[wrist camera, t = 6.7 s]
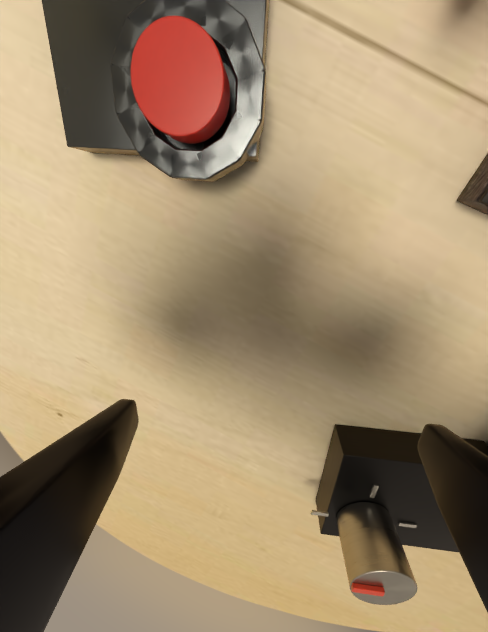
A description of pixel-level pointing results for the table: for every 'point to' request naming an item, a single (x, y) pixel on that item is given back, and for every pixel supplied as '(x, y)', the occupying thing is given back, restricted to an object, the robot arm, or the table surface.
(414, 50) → the table surface
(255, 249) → the table surface
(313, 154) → the table surface
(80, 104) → the control block
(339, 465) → the panel
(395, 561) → the hob knob
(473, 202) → the picture frame
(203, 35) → the button
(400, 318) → the table surface
